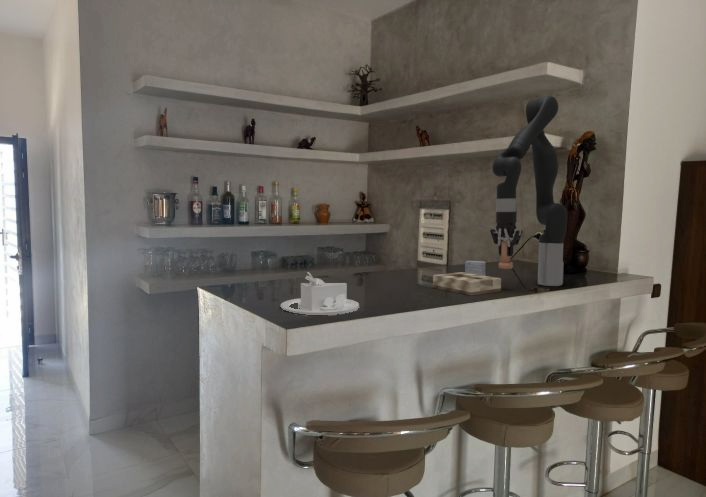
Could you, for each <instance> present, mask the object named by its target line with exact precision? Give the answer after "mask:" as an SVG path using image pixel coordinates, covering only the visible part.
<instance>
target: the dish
mask: <svg viewBox="0 0 706 497" xmlns="http://www.w3.org/2000/svg"><path fill="white" fill-rule="evenodd" d="M306 273H307V275H306V276H305V278H304V279H305V280H306V281H309V282H300V298H299V297H298V298H294V299H293V298H292V299H288V300H286V301H283V302H281V304H280V307H281V308H282V309H283V310H286V311H289V312H293V313H299V314H306V315H305V316H307V315H328V316H338V315H337V314H339V315H346V314H345V313H347V314H350V313H353V311H354V312H356V311H358V310H359V309H360V303H359V302H358V301H355V300H353V299H348V298H347V297H348V294H347V293H348V292H347V290H348V288H347V286H348V285H347V283H348V282H347V283H346V282H335V283H334V282H329V283H328V282H324V280H322V279H321V278H318V277H317V278H315V277H313V275H312V274H311V273H310V272H308V271H307V272H306ZM294 303H298V309H294V308H291V307H289V306H290V305H291V304H294ZM299 308H300V309H299ZM358 308H359V309H358ZM283 310H282V311H283ZM349 312H350V313H349Z"/></svg>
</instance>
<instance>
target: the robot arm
mask: <svg viewBox="0 0 706 497" xmlns="http://www.w3.org/2000/svg"><path fill="white" fill-rule="evenodd" d="M558 111H559V102H558V100H557V99H556V97H554V96H553V95H544V96H540V97H537V98H534V99H530V100H528V102H527V103H526V107H525V118H526V122H527V125H525V126H524V127H523V128H521V129H520V130H519V131H518V133H517V134H515V135H514V137H513V138H512V140H511V142H510V143H509V145H508V147H507V148H506V149H504V150H503V151H502V152H501V153H500V154H499V155H498V156H497V157H496V158H495V159H494V161H493V163H492V168H491V169H492V172H493V174H494V175H495V176H497V177H500V178H502V177H505V180H504V181H503V182H501V183H497V186H496V202H495V223H496V226H495V228H491V229H490V230H489V232H490V235H491V238H492V240H493V243H494V245H495V244H496V245H497V246H498V255H499V256H500V257H501V249H502V242H505V241H506V242H507V245H508V247H507V256H510V257H513V255H514V248H515V247H514V246H518V245H519V242H520V240H521V238H522V235H523V232H524V231H523V230H522V229H518V228H517V225H516V223H517V220H518V219H517V217H518V216H517V211H518V210H517V206H518V205H517V203H518V202H517V186H518V183H519V179H520V175H521V171H522V163H521V160H522V159H523V158H524V157H525V156H526V155H527V152H528V151H529V149H530V147H531V152H532V162H533V163H532V164H533V172H534V184H535V194H536V195H535V196H536V198H535V200H536V201H535V205H536V206H535V212H536V213H535V214H536V218H537V221H538V222H539V223H540V225H542V226H545V229H544V232H543V233H542V234H541V235H540V236H539V239H538V240H539V241H538V242H539V243H538V259H537V260H538V261H537V263H538V265H537V267H538V268H537V285H541V286H546V287H547V286H548V287H559V286H563V284H564V261H563V260H564V259H563V258H564V240H565V237H566V235H567V228H568V226H567V225H568V211H567V210H568V209H567V208H566V207H565V205H563V204H561V203H556V202H555V201H554V186H555V182H556V179H557V176H558V173H559V162H558V153H557V151H556V149H555V147H554V145H553V144H552V143H551V142H550V141H549V139H548V138H547V136H546V133H545V128H546V127H547V126H548V125H549V124H550V123H551V122H552V120H554V118H555V117H556V115H557V114H558Z"/></svg>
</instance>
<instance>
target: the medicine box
mask: <svg viewBox="0 0 706 497" xmlns="http://www.w3.org/2000/svg"><path fill="white" fill-rule="evenodd" d="M486 265H487V264H486V261H484V260H483V261H482V260H466V261H465V262H464V273H470V274H477V275H483V276H486Z"/></svg>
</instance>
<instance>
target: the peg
mask: <svg viewBox="0 0 706 497" xmlns="http://www.w3.org/2000/svg"><path fill="white" fill-rule="evenodd" d="M507 247H508V245H507V241H506V240H505V242H502V249H501V256H500V259H501V261H499V262H498V269H503V270H509V269H510V270H512V269H514V268H513V267H514V265H513V264H514V263H513V262H512V261H511V256H507Z"/></svg>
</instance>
